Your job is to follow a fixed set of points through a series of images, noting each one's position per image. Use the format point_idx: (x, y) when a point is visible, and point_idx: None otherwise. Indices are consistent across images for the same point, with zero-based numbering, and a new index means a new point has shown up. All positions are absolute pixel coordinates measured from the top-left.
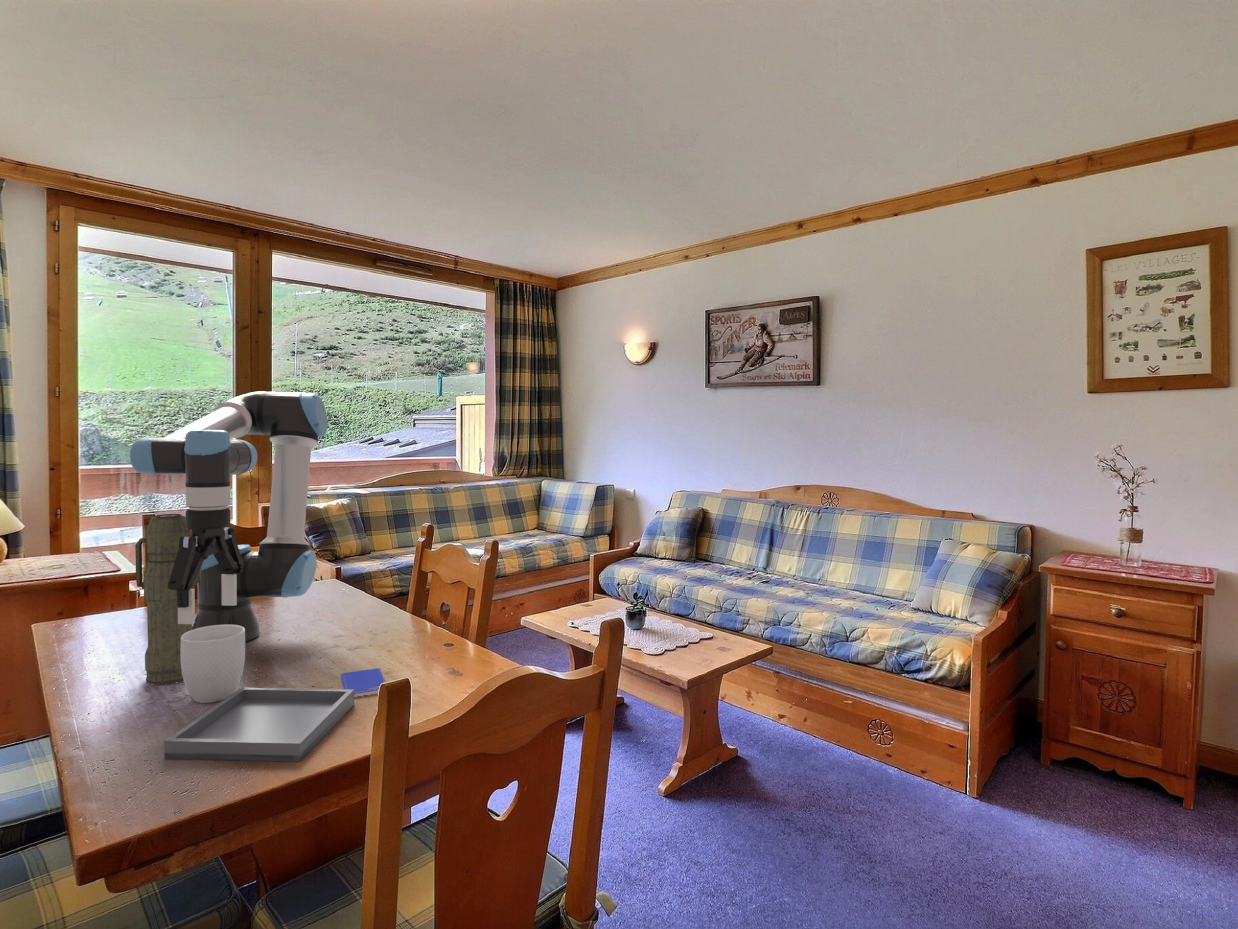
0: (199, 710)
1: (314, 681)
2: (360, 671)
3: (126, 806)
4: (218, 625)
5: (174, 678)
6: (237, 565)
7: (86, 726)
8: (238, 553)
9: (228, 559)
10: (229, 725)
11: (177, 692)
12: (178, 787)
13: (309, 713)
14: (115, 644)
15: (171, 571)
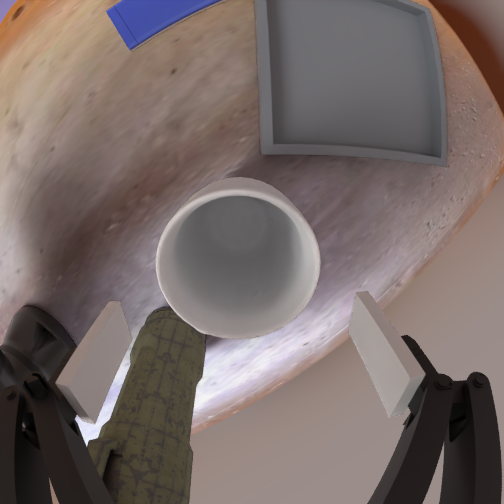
0: None
1: (150, 83)
2: (120, 26)
3: (488, 151)
4: (171, 301)
5: None
6: (25, 410)
7: (343, 319)
8: (2, 452)
9: (76, 475)
10: (370, 116)
11: None
12: (469, 119)
13: (316, 17)
14: None
15: (163, 498)
